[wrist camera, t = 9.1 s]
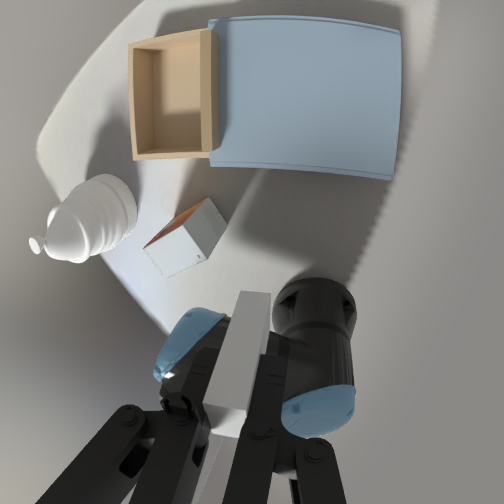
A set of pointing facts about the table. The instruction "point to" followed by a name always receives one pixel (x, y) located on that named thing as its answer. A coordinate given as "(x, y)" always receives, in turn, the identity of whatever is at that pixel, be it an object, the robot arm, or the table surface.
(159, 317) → the table surface
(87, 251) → the honey pot
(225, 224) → the small box
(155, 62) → the tray
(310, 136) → the lid
